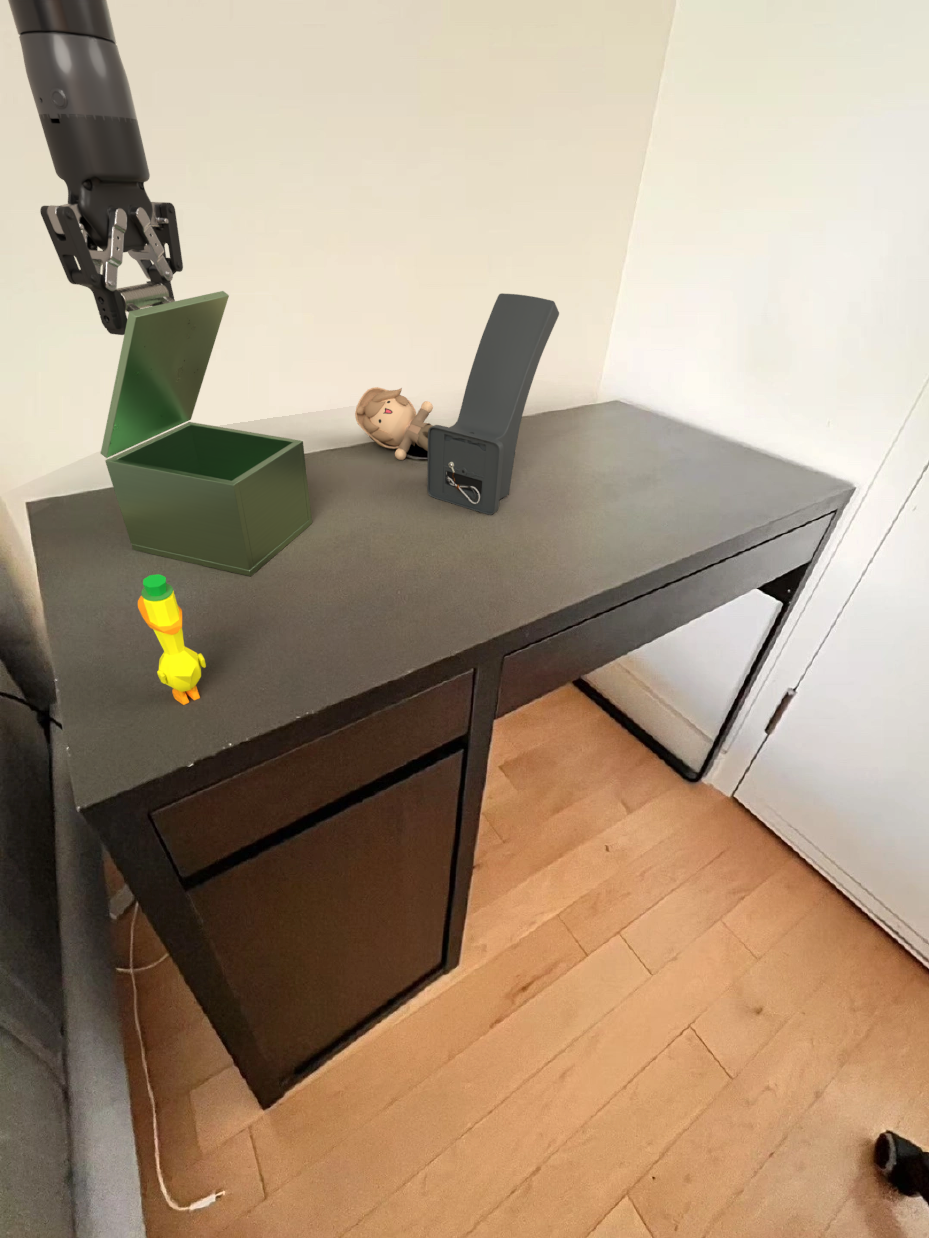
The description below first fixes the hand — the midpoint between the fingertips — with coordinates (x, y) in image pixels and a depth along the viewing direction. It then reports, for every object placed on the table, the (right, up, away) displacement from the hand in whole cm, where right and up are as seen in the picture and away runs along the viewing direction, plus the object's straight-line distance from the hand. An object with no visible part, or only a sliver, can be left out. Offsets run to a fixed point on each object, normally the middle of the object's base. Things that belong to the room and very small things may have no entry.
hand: (144, 327), depth 62 cm
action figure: (+23, -3, +37) cm, 44 cm away
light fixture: (+36, -10, +28) cm, 47 cm away
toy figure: (+9, -36, -10) cm, 38 cm away
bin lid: (+1, -4, +2) cm, 5 cm away
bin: (+4, -19, +12) cm, 23 cm away
